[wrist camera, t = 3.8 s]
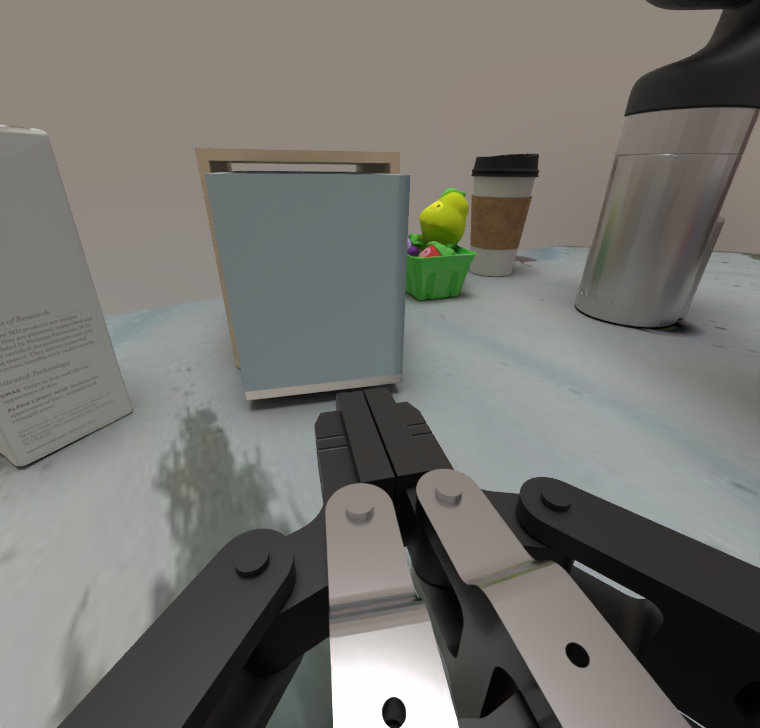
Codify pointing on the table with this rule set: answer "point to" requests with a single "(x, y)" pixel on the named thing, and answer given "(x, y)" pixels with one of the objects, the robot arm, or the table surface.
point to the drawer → (313, 276)
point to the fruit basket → (439, 249)
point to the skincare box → (47, 312)
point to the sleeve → (223, 158)
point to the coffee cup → (500, 210)
